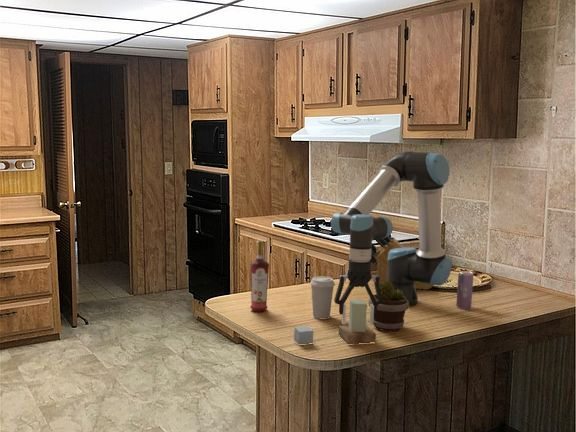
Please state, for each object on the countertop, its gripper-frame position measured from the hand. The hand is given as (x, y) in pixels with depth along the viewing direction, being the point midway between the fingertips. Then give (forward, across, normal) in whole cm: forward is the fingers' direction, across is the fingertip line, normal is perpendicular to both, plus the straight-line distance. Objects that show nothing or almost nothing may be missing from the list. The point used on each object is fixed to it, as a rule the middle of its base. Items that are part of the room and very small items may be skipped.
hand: (357, 323), depth 219 cm
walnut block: (+6, 0, 0) cm, 6 cm away
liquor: (+6, -33, +34) cm, 48 cm away
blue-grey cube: (+6, -19, -3) cm, 20 cm away
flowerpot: (+6, +14, +13) cm, 20 cm away
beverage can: (+6, +52, +38) cm, 65 cm away
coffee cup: (+6, -9, +26) cm, 28 cm away
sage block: (+2, 0, 0) cm, 2 cm away
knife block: (+6, +32, +73) cm, 80 cm away
